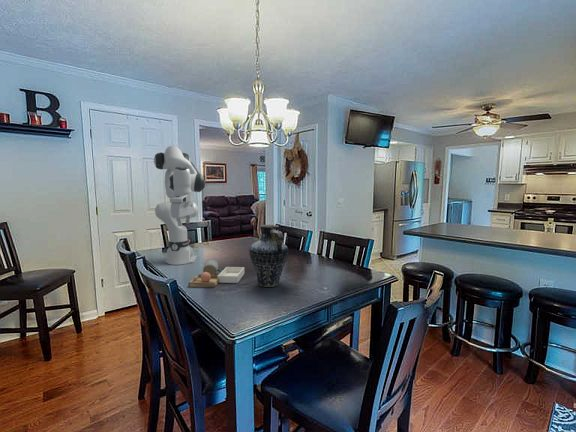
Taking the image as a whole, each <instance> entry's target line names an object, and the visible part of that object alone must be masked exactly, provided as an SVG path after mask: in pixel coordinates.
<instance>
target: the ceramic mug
mask: <svg viewBox="0 0 576 432" xmlns="http://www.w3.org/2000/svg"><path fill="white" fill-rule="evenodd" d="M204 263H205V264H204V266H203V269H202V270H203V272H202V273H204V272H208V273H210V275H219V274H220V273H221V272H222V271H223V269H221V268H220V267H219V263H218V261H216V260H213V259H209V260H207V261H206V262H204Z"/></svg>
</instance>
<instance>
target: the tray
mask: <svg viewBox="0 0 576 432" xmlns="http://www.w3.org/2000/svg"><path fill="white" fill-rule="evenodd" d="M201 275H202V274H196V275H195V277H194V278H192V279H191V280H190V281H189V282H187V283H188V288H211V287H212V288H213V289H214V288H216V286H217V285H218V284H220V283H219V278H217V276H218V275H217V274H215V275H211V279H210V280H209V281H208V282H203V281H202V280H201Z"/></svg>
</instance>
